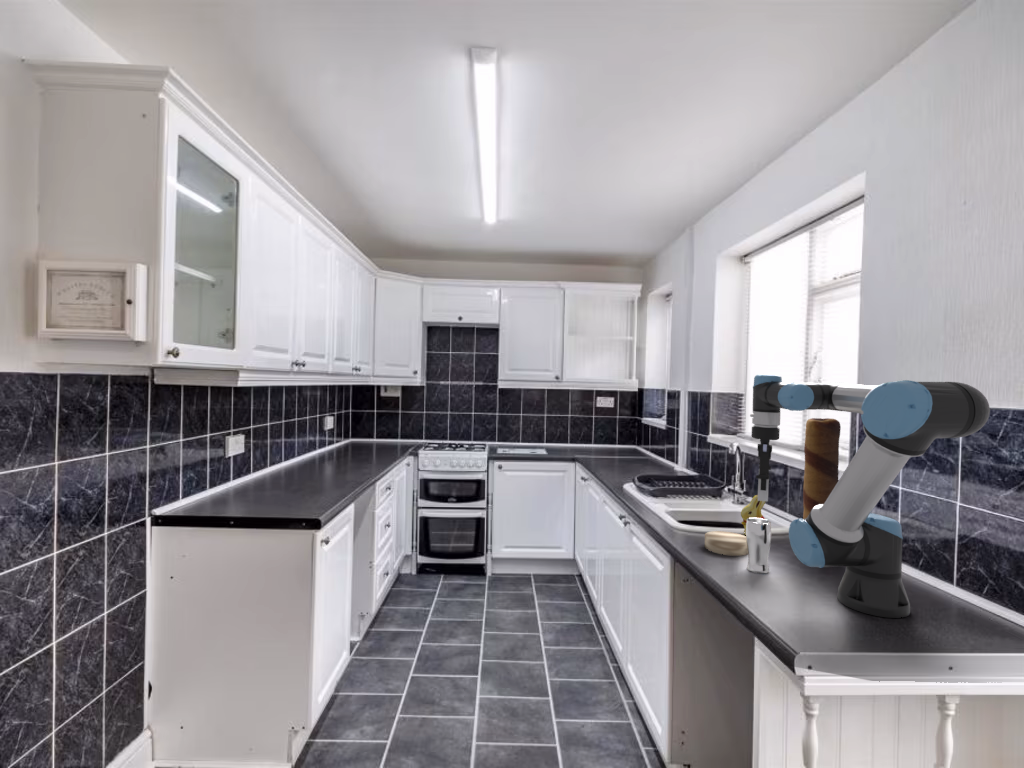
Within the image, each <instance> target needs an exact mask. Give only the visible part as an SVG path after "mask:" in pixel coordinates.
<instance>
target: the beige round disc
mask: <svg viewBox="0 0 1024 768" xmlns="http://www.w3.org/2000/svg"><path fill="white" fill-rule="evenodd" d="M704 548H705V549H706V550H707V549H708V550H707V551H710V552H711V551H712V553H714V554H718V555H722V554H723V556H728V557H729V556H731V557H732V556H733V557H739V556H740V557H742V556H747V555H748V548H747V542H746V536H745V535H744V534H740V533H736V532H732V531H724V530H722V531H721V530H713V531H708V532H705V534H704Z"/></svg>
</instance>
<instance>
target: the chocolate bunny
mask: <svg viewBox="0 0 1024 768" xmlns="http://www.w3.org/2000/svg"><path fill="white" fill-rule="evenodd" d="M765 504H766V501H758V494H756V495H755V494H754V496H753V497H752V498H751V500H750V502H749V503H748V504H747V505H745V506H744V507H743V508H742V509H741V510H740V516H741V518H742V521H741V525H743V528H744V530H743V533H744V532H745V533H744V534H745V535H746V523H747V519H748V518H761V519H766V518H765V516H764V515H763V514H762V509H763V507H764V506H765ZM744 534H743V535H744ZM745 535H744V536H745Z"/></svg>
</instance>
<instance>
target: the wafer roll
mask: <svg viewBox="0 0 1024 768" xmlns="http://www.w3.org/2000/svg"><path fill="white" fill-rule="evenodd" d="M840 436H841V422H840V421H839V420H837V419H836V418H829V417H826V418H817V417H816V418H815V417H814V418H813V417H812V418H809V419H807V420H806V422H805V436H804V450H803V451H804V470H803V471H804V474H803V491H802V492H803V493H802V495H803V496H802V499H803V504H802V505H803V506H802V507H803V513H802V514H803V516H802V517H803V518H802V519H805V518H807V517H808V515H809V513H810V512H811V510H812V509H813V508H814V507H815V506H816V505H819V504H824V503H825V502H826V500H827V498H828V497H829V495H830V494H831V492H832V490H833V489H834V487H835V486H836V484H837V482H838V481H839V473H840V471H839V463H840V461H839V457H840V456H839V455H840V451H839V450H840V449H839V447H840Z"/></svg>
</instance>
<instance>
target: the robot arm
mask: <svg viewBox="0 0 1024 768" xmlns="http://www.w3.org/2000/svg"><path fill="white" fill-rule="evenodd" d="M781 409H784V410H787V411H788V410H789V411H792V412H793V411H797V412H798V411H799V412H800V411H805V410H816V411H817V410H824V411H825V410H828V411H829V410H830V411H836V412H838V411H839V412H845V413H846V412H847V413H854V414H861V415H860V416H861V421H862V424H863V432H864V434H865V435H866V436H865V437H864V440H862V443H861V445H860V446H859V448H858V449H857V451H856V452H855V454H854V456H853V457H852V459H851V460H850V462H849V463H848V465H847V466H846V468H845V470H844V471H843V473H842V474H841V476H840V478H838V482H837V484H836V486H835V487H834V489H833V490H832V492H831V494H830V495H829V497H828V498H827V500H826V502H825V503H824V504H819V505H816V506H815V507H814V508H813V509H812V510H811V512H810V513H809V515H808V517H807V518H805V519H803V518H802V517H800V518H797V519H796V518H795V519H793V520H792V521H791V522H790V524H789V527H788V539H789V544H790V547H791V550H792V552H793V554H794V555H795V557H796V559H798V561H800V563H802V564H803V565H805V566H807V567H809V568H810V567H811V568H819V569H823V568H832V567H833V568H836V567H845V571H844V573H843V575H842V578H841V580H840V583H839V585H838V587H837V600H838V601H839V602H840V603H841V604H842V605H844V606H846V607H847V608H850V609H852V610H854V611H857V612H859V613H862V614H867V615H870V616H874V617H881V618H886V619H887V618H889V619H890V618H892V619H895V618H896V619H901V617H902V618H907V617H909V616H910V615H911V602H910V600H909V597H908V594H907V591H906V589H905V586H904V583H903V580H902V575H903V574H902V570H903V569H902V568H903V563H902V561H903V540H904V538H903V537H904V536H903V531H902V529H903V527H902V524H901V523H900V522H899V521H898V520H897V519H894V518H892V517H889V516H885V515H881V514H877V513H873V512H872V511H873V510H874V509H875V507H876V505H877V504H878V503H879V502H880V501H881V498H882V497H883V496H884V495H885V493H886V492H887V490H888V489H889V488H890V486H891V485H892V484H893V482H894V481H895V479H896V478H897V476H898V475H899V474H900V473H901V471H902V469H903V468H904V467H905V465H906V464H907V462H908V461H909V460H910V459H911V458H916V457H920V456H922V455H924V454H925V453H926V451H927V450H928V449H929V447H930V446H931V445H932V444H933V442H934V441H936V439H958V438H964V437H969V436H970V435H973V434H975V433H977V432H978V431H980V430H981V429H982V428H983V427H984V426H985V425H986V424H987V422H988V421H989V418H990V413H991V409H990V404H989V401H988V399H987V397H986V396H985V395H984V394H983V392H982V391H980V390H979V389H977V388H975V387H974V386H972V385H969V384H966V383H964V382H959V381H958V382H957V381H915V380H907V379H906V380H902V379H901V380H897V381H888V382H884V383H881V384H878V385H866V384H865V385H864V384H851V383H850V384H849V383H844V382H833V383H831V382H830V383H829V382H827V383H826V382H825V383H824V382H822V383H819V382H818V383H816V382H784V381H783V380H782V376H781V375H780V374H756V375H755V376H754V378H753V385H752V413H750V414H749V417H751V419H752V420H751V424H753V425H752V426H751V438H753V439H755V440H759V442H760V443H757V448H756V449H757V458H758V460H759V463H758V464H759V466H758V468H759V469H758V474H757V475H755V476H756V477H755V478H756V479H758V482H757V483H758V484H757V496H758V501H765V503H768V502H769V484H770V483H769V481H770V475H769V474H770V470H771V468H772V467H771V466H770V460H771V459H772V452H773V445H772V444H770V441H777V440H779V439H780V431H781V430H780V428H779V426H780V425H781Z"/></svg>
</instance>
